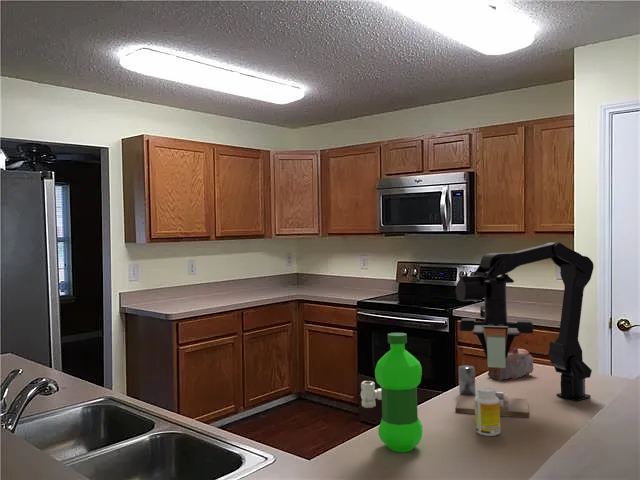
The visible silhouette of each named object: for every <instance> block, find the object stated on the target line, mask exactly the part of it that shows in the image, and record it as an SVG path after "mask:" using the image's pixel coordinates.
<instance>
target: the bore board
mask: <svg viewBox="0 0 640 480" xmlns="http://www.w3.org/2000/svg"><path fill="white" fill-rule="evenodd" d="M495 393H496V397H498V398H499V404H500V415H502V416H501V417H503V416H504V417H517V418H518V417H519V418H529V417H530V411H529V404H528V403H529V402H528V399H527V398H521V397H520V398H519V397H517V398H516V397H508V392H501V391H495ZM476 396H478V390H476ZM476 396H467V395H460V394H459V395H458V398H457V401H456V404H455V407H454V408H455V409H454V410H455V411H454V413H457V414H458V413H459V414H472V415H473V414H474V415H475V397H476Z"/></svg>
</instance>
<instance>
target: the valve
mask: <svg viewBox="0 0 640 480" xmlns="http://www.w3.org/2000/svg"><path fill="white" fill-rule="evenodd" d="M375 388H376V383H375V382H374V381H372V380H363V381H362V382H361V383H360V389H361V391H360V397H361V407H363V408H365V409H370V408H371V409H372V408H373V409H374V407H376V399H377V400H378V401H379V400H380V401H382V395H381V387H380V388H376V389H375Z"/></svg>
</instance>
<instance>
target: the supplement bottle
mask: <svg viewBox="0 0 640 480" xmlns="http://www.w3.org/2000/svg"><path fill="white" fill-rule="evenodd" d="M477 391H478V396H476V397H475V414H474V420H475V422H474V423H475V431H476V433H478V434H479V435H481V436H485V437H493V436H497V435H499V434H500V433H501V416H500V404H499V398H498V397H496V393H495V392H496V389H495V388H494V387H491V386H481V387H478V388H477Z"/></svg>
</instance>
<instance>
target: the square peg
mask: <svg viewBox="0 0 640 480" xmlns="http://www.w3.org/2000/svg"><path fill="white" fill-rule="evenodd" d="M486 342H487V357H486V358H487V368H488V367H498V368H505V365H506V361H505V346H506V335H505V334H491V333H490V334H487V336H486Z"/></svg>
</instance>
